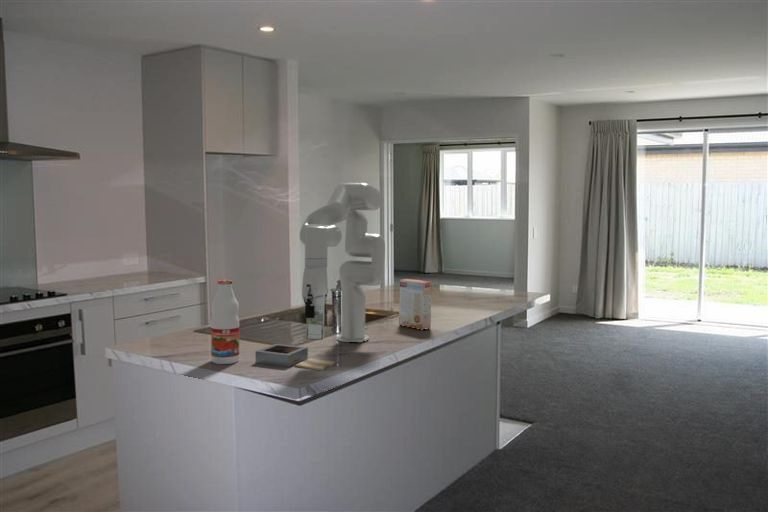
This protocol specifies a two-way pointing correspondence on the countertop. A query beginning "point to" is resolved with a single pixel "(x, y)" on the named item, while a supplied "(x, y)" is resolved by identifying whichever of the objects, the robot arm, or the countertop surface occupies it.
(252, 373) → the countertop surface
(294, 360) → the frame
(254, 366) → the countertop surface
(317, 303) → the syrup box
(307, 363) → the cork coaster
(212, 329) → the fruit juice
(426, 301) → the cracker box
